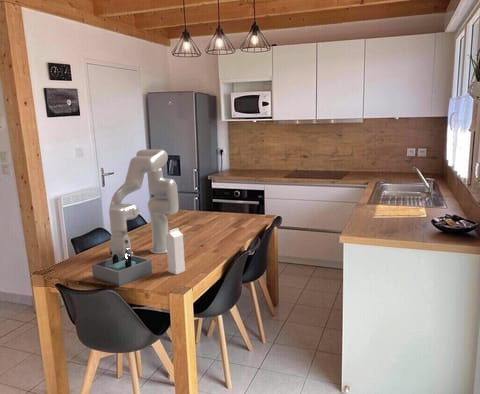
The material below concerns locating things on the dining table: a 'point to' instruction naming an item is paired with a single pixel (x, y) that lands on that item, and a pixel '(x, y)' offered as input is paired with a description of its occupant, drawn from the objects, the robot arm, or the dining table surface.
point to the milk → (175, 251)
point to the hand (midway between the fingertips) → (122, 266)
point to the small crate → (120, 265)
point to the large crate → (122, 271)
